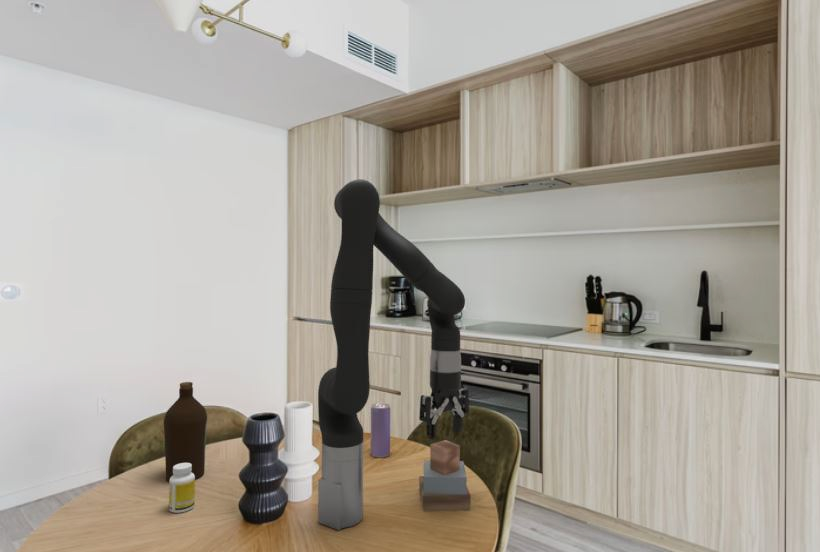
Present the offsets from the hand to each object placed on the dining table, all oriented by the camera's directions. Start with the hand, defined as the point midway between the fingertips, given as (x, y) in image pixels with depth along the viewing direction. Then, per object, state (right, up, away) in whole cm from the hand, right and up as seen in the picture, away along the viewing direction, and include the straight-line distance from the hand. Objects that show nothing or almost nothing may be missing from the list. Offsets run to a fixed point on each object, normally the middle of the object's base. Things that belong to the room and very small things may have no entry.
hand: (444, 435), depth 116 cm
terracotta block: (0, -8, 0) cm, 8 cm away
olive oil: (-69, -16, +14) cm, 72 cm away
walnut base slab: (0, -16, +1) cm, 16 cm away
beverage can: (-17, -16, +30) cm, 38 cm away
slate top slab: (0, -12, +1) cm, 12 cm away
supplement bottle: (-61, -16, -4) cm, 64 cm away
